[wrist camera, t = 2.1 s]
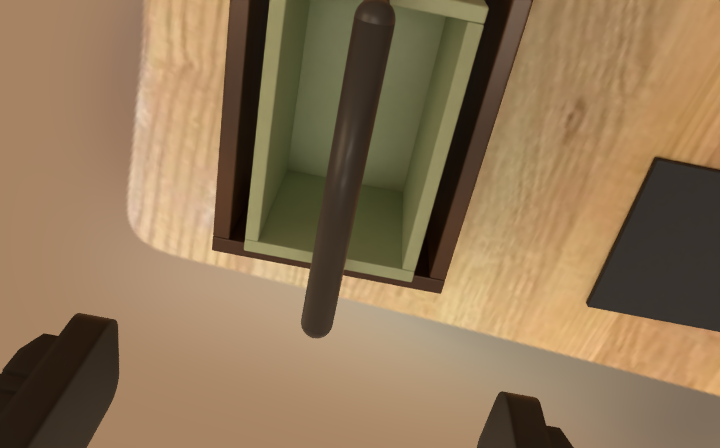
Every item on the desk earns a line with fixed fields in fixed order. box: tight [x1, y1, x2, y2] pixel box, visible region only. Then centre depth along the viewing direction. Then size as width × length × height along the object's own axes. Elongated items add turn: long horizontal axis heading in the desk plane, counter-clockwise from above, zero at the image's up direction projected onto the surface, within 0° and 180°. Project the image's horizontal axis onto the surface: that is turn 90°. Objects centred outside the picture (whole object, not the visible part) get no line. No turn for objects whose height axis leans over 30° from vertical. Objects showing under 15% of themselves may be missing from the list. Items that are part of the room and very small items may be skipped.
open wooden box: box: [212, 0, 533, 294], centre depth 29 cm, size 16×11×6 cm
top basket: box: [244, 0, 489, 338], centre depth 25 cm, size 13×8×13 cm, turn 169°
